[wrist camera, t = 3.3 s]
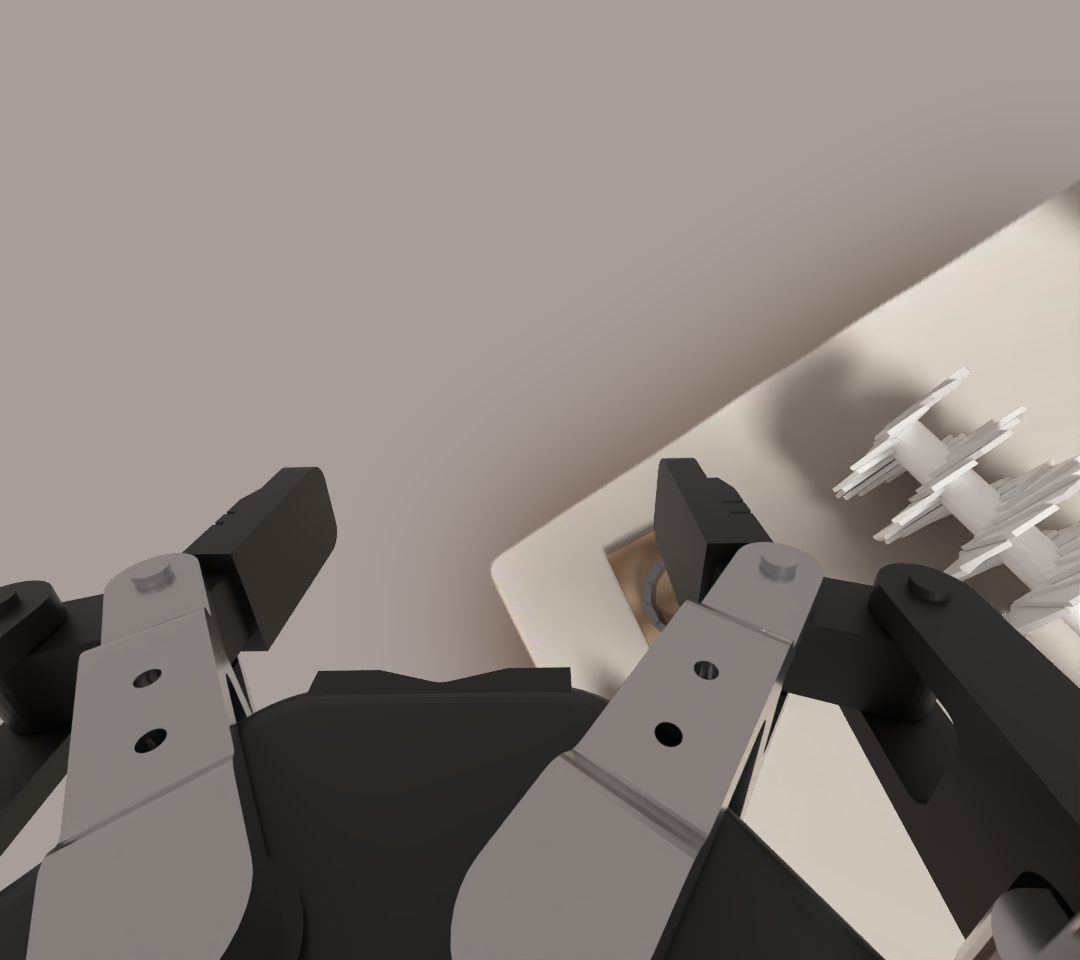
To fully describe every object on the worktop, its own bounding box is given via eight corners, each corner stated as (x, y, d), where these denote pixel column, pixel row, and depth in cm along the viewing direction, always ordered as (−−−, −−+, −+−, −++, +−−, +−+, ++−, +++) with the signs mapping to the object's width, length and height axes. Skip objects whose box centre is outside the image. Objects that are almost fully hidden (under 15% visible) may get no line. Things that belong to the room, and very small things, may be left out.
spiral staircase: (1006, 643, 55) (839, 471, 65) (1213, 558, 45) (978, 368, 54) (1000, 718, 42) (792, 489, 52) (1289, 623, 32) (963, 358, 41)
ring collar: (754, 619, 62) (753, 620, 59) (673, 655, 65) (669, 658, 62) (708, 539, 66) (705, 536, 63) (634, 576, 69) (628, 575, 67)
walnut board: (793, 645, 61) (794, 646, 59) (675, 694, 65) (673, 696, 64) (709, 503, 68) (708, 501, 67) (609, 556, 73) (606, 556, 72)
